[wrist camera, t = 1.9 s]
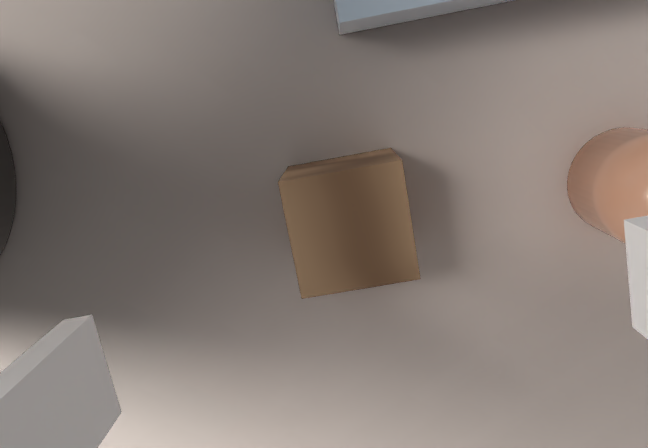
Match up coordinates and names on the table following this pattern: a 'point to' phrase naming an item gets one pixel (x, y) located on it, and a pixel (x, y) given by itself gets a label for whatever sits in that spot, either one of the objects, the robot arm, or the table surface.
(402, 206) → the walnut cube
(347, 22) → the tote
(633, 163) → the peach rounded cylinder
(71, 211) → the table surface
